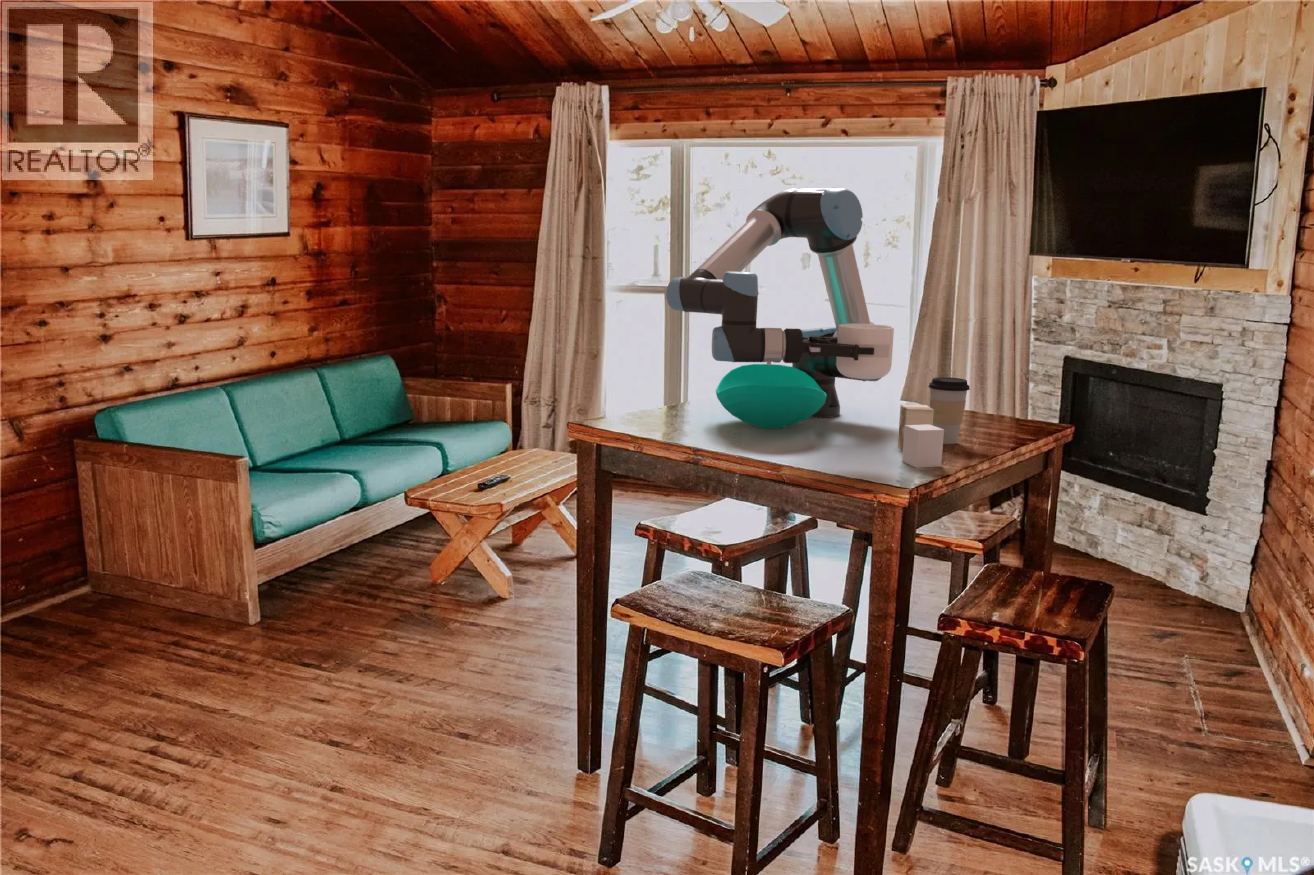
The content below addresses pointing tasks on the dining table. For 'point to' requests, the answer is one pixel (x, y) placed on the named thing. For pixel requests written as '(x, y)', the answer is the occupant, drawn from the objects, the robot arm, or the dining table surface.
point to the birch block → (913, 418)
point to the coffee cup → (948, 405)
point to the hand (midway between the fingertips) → (881, 347)
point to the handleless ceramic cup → (865, 365)
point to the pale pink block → (923, 445)
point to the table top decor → (770, 395)
